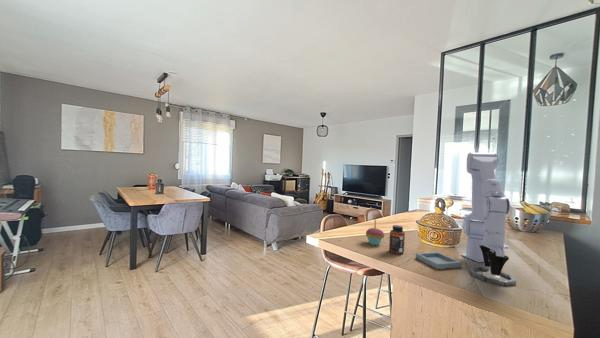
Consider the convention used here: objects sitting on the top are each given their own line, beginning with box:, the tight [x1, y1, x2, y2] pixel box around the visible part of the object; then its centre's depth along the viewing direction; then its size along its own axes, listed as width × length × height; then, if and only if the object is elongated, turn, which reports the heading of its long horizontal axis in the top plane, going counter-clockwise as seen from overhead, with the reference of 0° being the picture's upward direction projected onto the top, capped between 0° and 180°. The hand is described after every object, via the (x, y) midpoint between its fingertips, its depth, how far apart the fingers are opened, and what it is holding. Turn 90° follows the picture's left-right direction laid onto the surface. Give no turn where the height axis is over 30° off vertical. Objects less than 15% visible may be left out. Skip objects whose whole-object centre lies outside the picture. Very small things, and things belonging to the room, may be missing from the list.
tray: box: [415, 251, 463, 270], centre depth 96 cm, size 11×11×2 cm
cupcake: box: [365, 218, 385, 246], centre depth 117 cm, size 9×8×12 cm
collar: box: [469, 265, 517, 287], centre depth 85 cm, size 12×12×1 cm
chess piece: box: [482, 250, 502, 281], centre depth 85 cm, size 5×5×10 cm
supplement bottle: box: [388, 224, 406, 255], centre depth 106 cm, size 6×6×11 cm
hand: (491, 270), depth 85 cm, fingers open, 7 cm apart
